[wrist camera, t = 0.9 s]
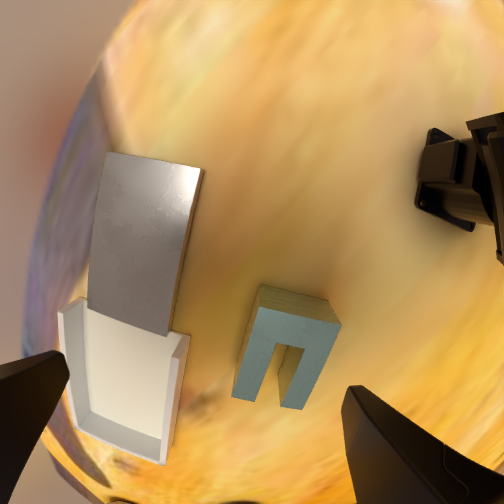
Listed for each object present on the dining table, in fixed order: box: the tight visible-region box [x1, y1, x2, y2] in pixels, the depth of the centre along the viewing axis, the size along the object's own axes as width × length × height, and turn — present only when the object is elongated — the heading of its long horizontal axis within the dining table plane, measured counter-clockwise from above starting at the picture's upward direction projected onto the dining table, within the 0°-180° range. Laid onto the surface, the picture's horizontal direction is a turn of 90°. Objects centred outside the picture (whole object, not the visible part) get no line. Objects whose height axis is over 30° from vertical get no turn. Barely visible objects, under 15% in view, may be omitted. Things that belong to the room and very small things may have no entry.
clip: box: [231, 284, 341, 410], centre depth 18 cm, size 5×7×4 cm
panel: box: [87, 151, 204, 337], centre depth 19 cm, size 7×12×1 cm, turn 165°
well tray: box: [58, 297, 191, 466], centre depth 20 cm, size 10×15×3 cm
